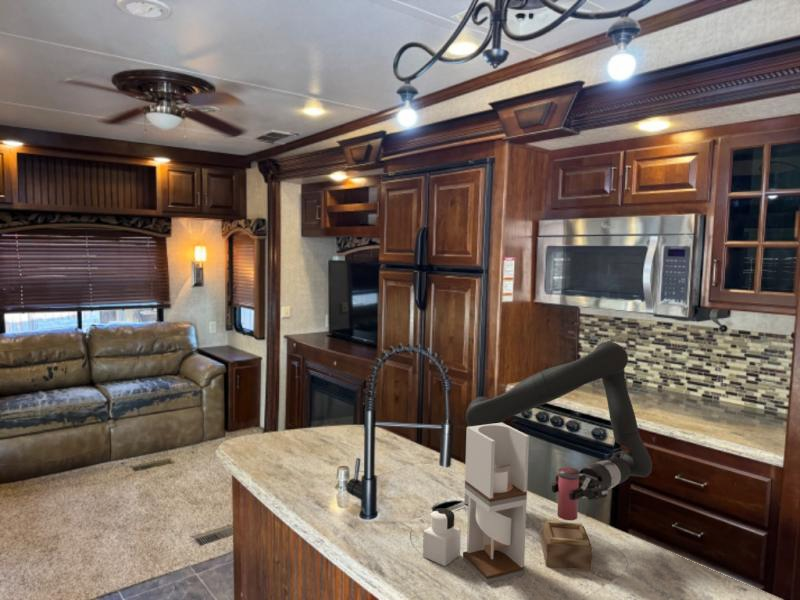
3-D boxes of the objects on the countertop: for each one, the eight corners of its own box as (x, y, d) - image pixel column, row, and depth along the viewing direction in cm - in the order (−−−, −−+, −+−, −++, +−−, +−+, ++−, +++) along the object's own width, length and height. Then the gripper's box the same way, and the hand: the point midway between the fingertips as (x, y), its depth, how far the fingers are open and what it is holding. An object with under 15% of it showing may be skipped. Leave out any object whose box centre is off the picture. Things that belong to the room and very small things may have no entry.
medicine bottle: (438, 546, 149) (439, 502, 148) (460, 555, 145) (461, 511, 144) (422, 556, 144) (423, 512, 143) (445, 567, 139) (446, 521, 138)
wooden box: (546, 566, 140) (547, 539, 140) (541, 544, 151) (542, 519, 151) (591, 570, 139) (592, 543, 138) (582, 547, 150) (583, 522, 149)
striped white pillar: (462, 559, 143) (466, 427, 140) (497, 551, 147) (502, 422, 144) (487, 584, 132) (491, 441, 129) (523, 574, 137) (529, 435, 134)
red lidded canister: (558, 519, 142) (560, 474, 141) (555, 510, 147) (557, 466, 146) (579, 521, 141) (581, 475, 140) (575, 511, 146) (577, 467, 145)
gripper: (578, 455, 158) (539, 469, 147) (625, 471, 146) (587, 487, 136) (577, 481, 158) (538, 496, 148) (623, 499, 147) (585, 517, 137)
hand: (562, 492), depth 142 cm, fingers closed on red lidded canister, 5 cm apart
